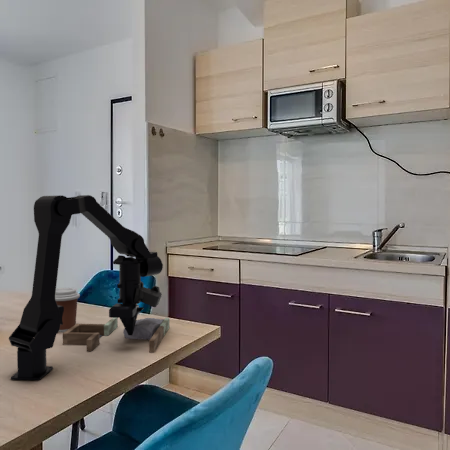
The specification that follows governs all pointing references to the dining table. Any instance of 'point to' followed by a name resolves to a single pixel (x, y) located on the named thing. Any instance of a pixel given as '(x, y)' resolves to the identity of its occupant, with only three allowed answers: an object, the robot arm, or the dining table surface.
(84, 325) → the channel
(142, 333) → the stone block
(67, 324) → the coffee cup
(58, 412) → the dining table surface
